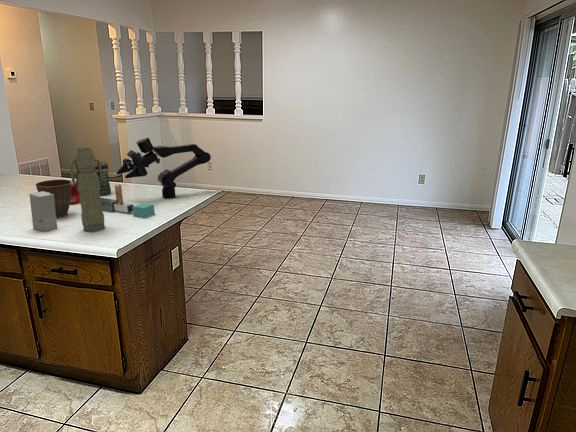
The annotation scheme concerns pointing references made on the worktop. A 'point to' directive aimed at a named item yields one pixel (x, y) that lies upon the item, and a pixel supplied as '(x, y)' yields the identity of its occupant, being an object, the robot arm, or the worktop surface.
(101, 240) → the worktop surface
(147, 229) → the worktop surface
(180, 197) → the worktop surface
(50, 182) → the plant pot
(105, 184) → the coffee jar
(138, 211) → the socket
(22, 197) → the worktop surface
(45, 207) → the skincare box
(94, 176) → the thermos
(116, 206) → the bronze post on bar
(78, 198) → the canned food
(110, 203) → the grey rectangular metal block
